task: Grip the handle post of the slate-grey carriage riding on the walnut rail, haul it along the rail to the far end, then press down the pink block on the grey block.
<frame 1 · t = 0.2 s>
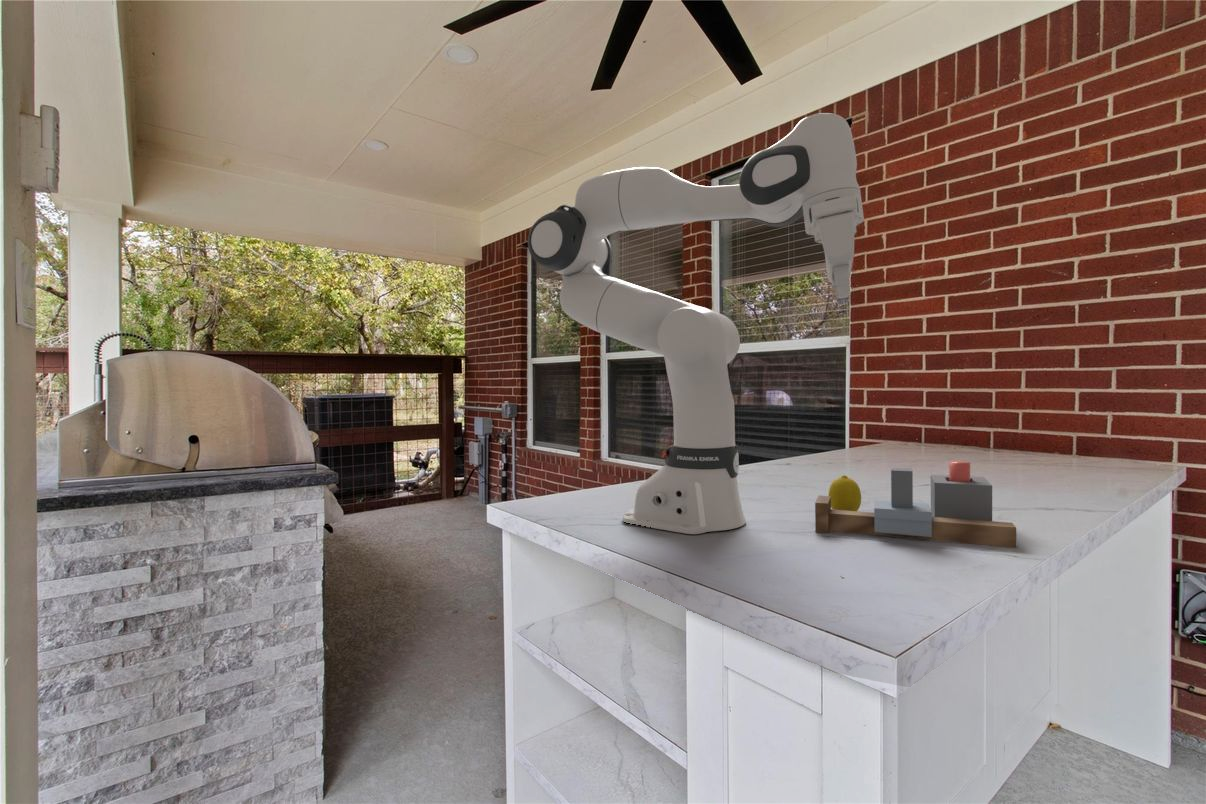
hand: (843, 301, 90), 38 cm above the countertop, fingers open, 8 cm apart
lemon: (844, 519, 102), on the countertop
pink block: (959, 479, 95), point 8 cm above the countertop, slide at 0.0 cm
carriage: (901, 499, 91), point 6 cm above the countertop, slide at 0.0 cm
rail: (915, 536, 90), on the countertop
grey block: (959, 526, 95), on the countertop
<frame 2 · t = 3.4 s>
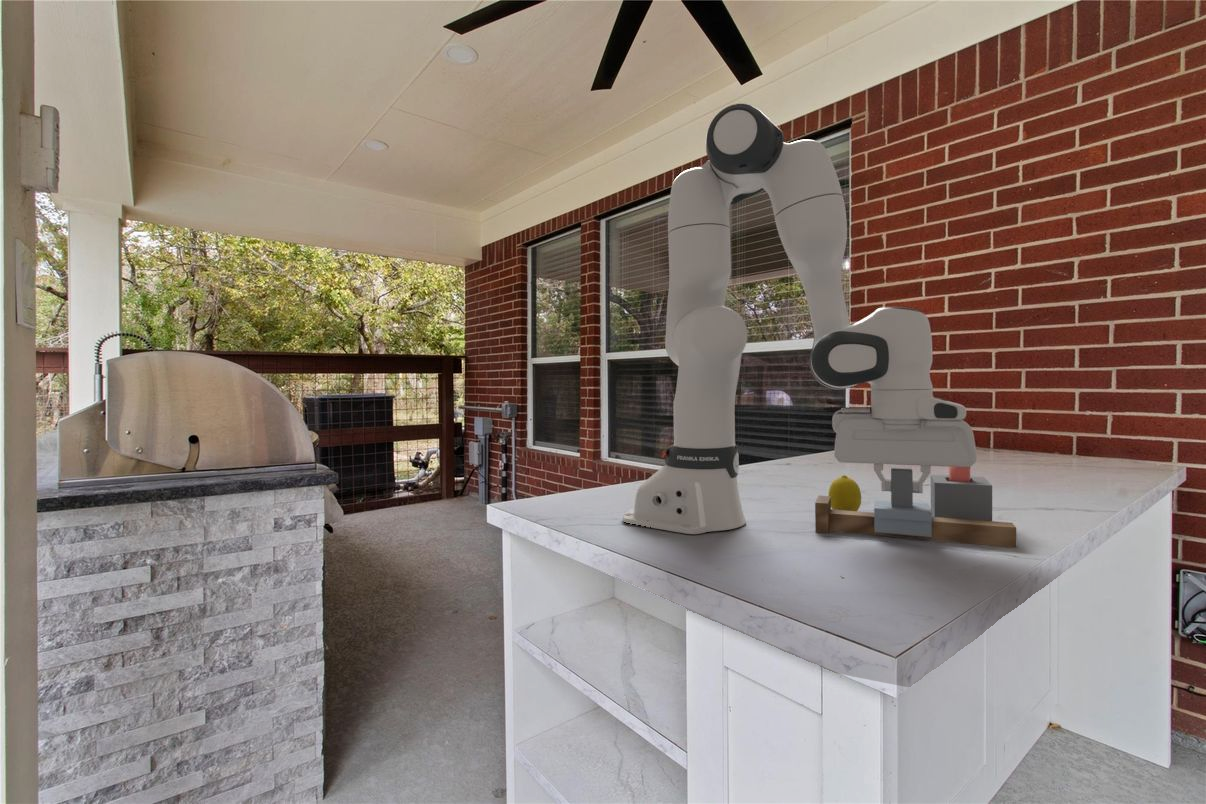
hand: (901, 491, 91), 7 cm above the countertop, fingers closed on carriage, 3 cm apart
carriage: (901, 499, 91), point 6 cm above the countertop, slide at 0.0 cm, touching gripper
everything else where it was.
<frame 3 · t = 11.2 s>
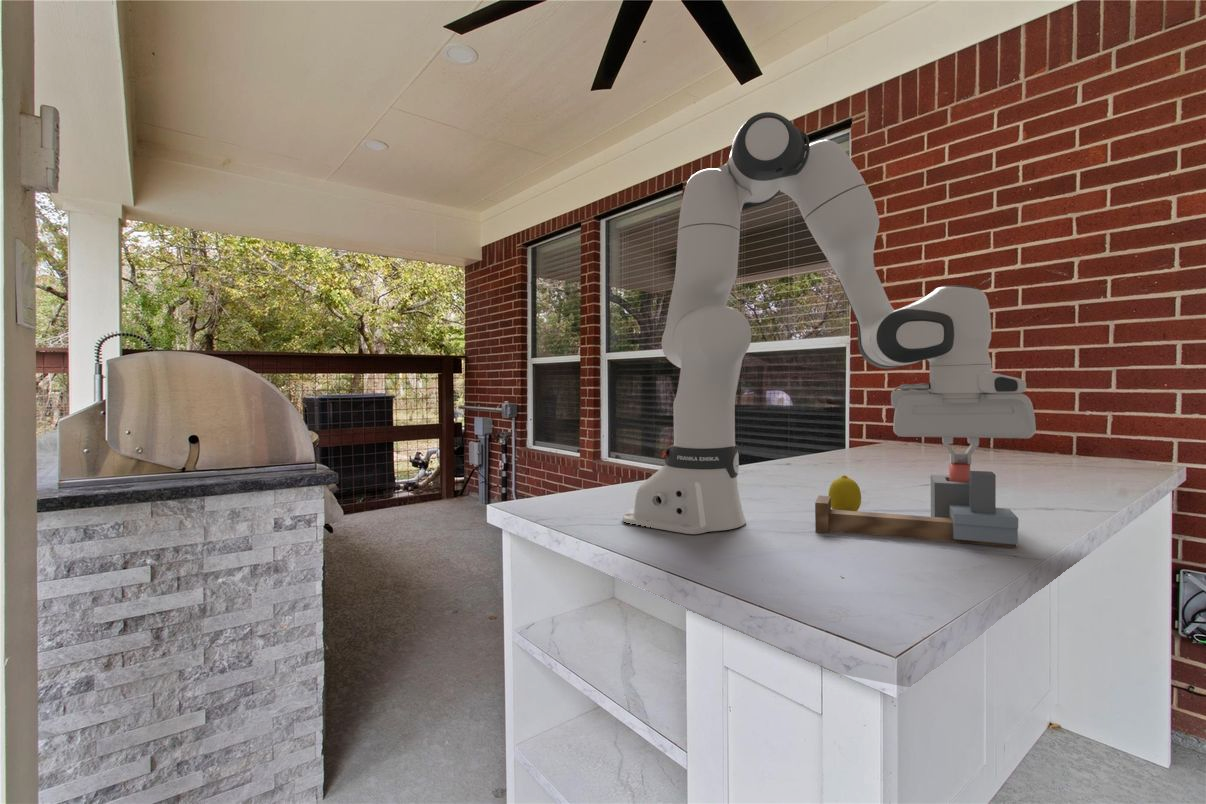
hand: (960, 463, 95), 11 cm above the countertop, fingers closed, pressing on pink block
pink block: (959, 481, 95), point 8 cm above the countertop, slide at 0.3 cm, touching gripper
carriage: (982, 504, 86), point 6 cm above the countertop, slide at 10.9 cm
everything else where it was.
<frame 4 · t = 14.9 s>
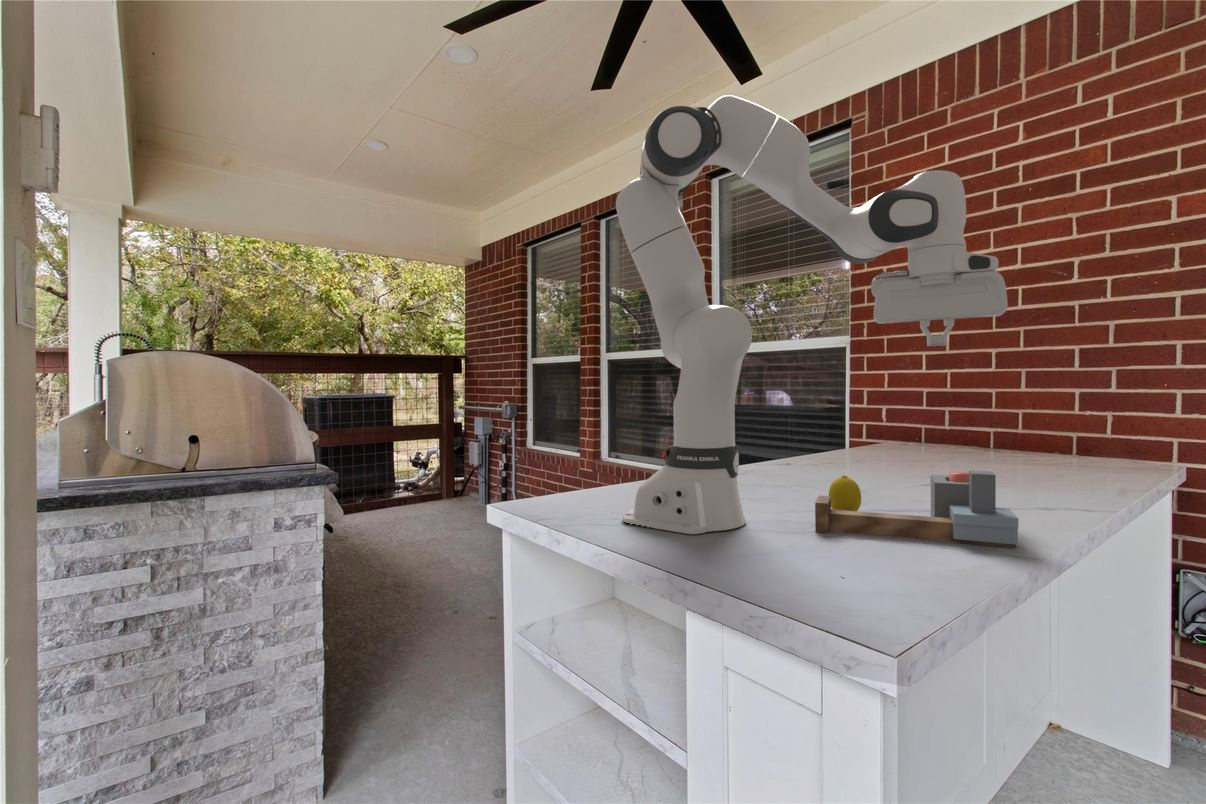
hand: (936, 345, 99), 31 cm above the countertop, fingers closed
pink block: (959, 490, 95), point 6 cm above the countertop, slide at 1.9 cm
everything else where it was.
at the end: carriage slide at 10.9 cm; pink block slide at 1.9 cm; the gripper is holding nothing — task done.
